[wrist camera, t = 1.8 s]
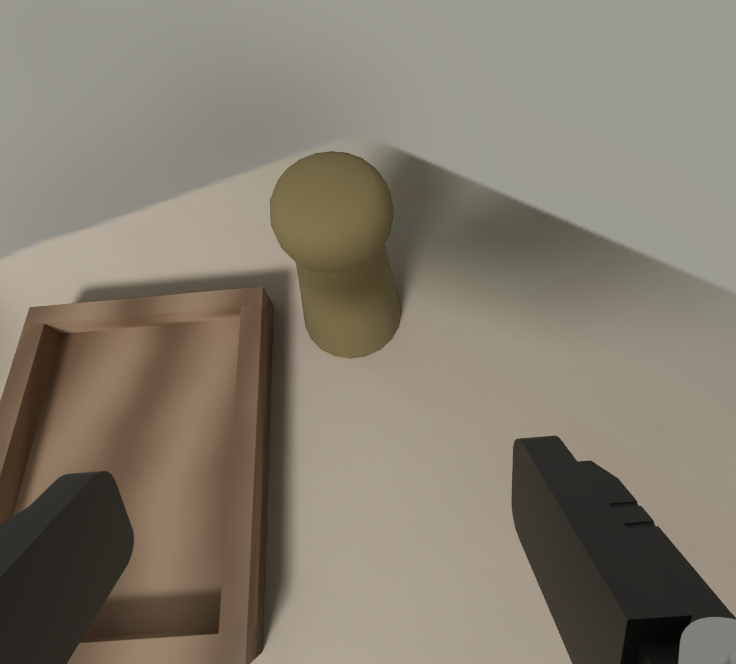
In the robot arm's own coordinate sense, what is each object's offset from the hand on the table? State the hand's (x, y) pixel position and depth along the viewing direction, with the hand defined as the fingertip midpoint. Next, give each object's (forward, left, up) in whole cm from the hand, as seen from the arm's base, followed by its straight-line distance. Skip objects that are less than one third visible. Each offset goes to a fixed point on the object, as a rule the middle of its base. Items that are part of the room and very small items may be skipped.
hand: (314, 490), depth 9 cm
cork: (0, -12, -15) cm, 19 cm away
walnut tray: (+12, -4, -14) cm, 19 cm away
